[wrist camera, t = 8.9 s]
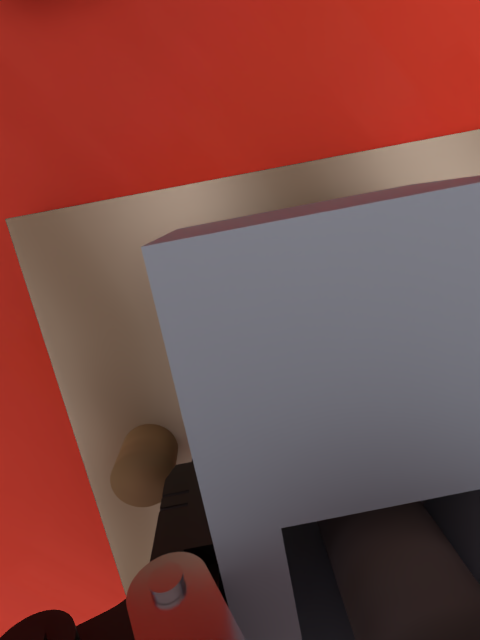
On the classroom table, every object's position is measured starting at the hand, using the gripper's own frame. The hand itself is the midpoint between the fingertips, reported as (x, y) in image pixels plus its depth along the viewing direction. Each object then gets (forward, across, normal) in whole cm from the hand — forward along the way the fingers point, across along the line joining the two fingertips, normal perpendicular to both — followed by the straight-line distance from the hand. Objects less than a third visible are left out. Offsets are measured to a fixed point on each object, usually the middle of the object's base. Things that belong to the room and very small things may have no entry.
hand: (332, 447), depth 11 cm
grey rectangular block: (+1, 0, 0) cm, 1 cm away
